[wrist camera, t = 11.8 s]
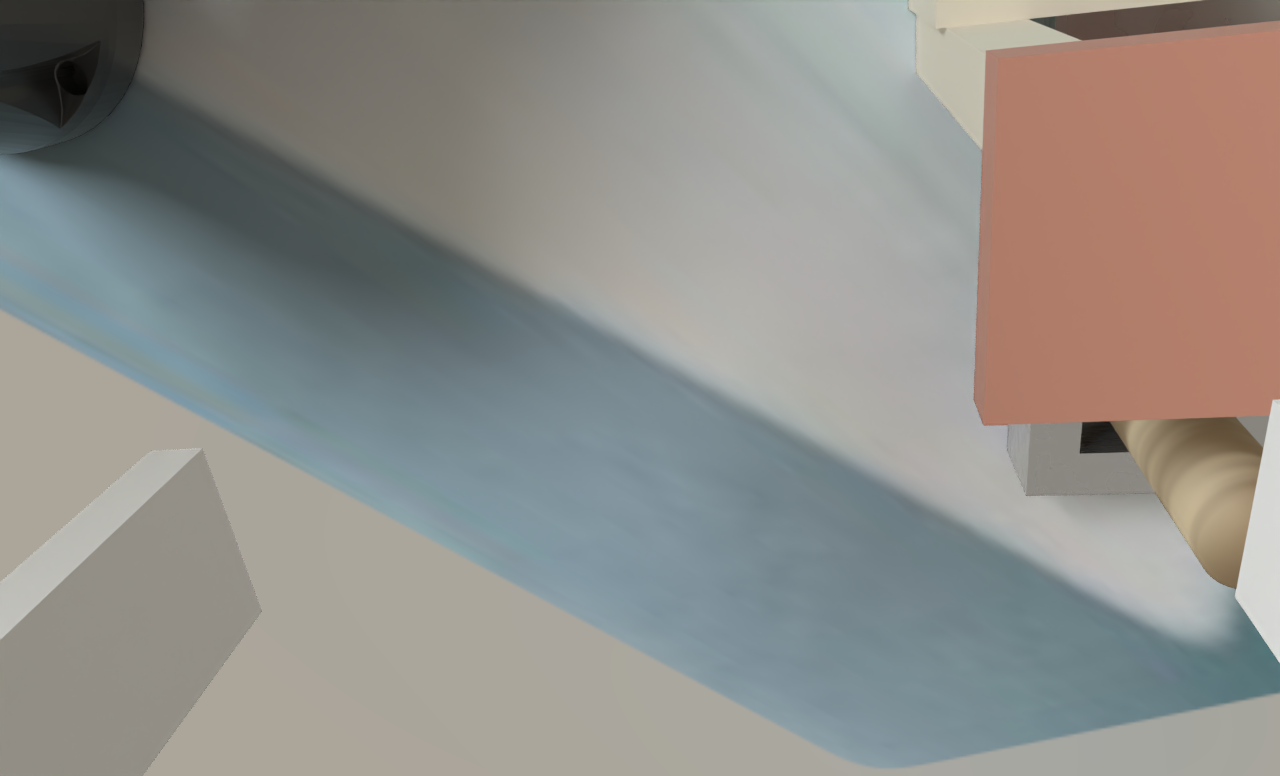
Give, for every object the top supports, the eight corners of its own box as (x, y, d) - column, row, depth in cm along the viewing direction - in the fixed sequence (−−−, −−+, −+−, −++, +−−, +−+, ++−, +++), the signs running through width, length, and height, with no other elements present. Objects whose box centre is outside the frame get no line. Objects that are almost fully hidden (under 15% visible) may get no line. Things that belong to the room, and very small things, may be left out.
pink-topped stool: (907, 227, 40) (983, 425, 24) (908, -25, 36) (999, 14, 20) (1382, 193, 37) (1830, 396, 21) (1443, -88, 33) (2057, -100, 17)
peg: (1073, 395, 43) (1190, 590, 30) (1081, 321, 41) (1207, 493, 29) (1160, 393, 42) (1315, 591, 30) (1171, 317, 40) (1340, 492, 28)
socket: (1007, 449, 44) (1025, 495, 41) (1016, 265, 40) (1038, 298, 37) (1218, 443, 43) (1257, 490, 39) (1249, 250, 39) (1295, 283, 35)
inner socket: (1019, 219, 40) (1041, 248, 36) (1031, -14, 36) (1057, -7, 32) (1256, 202, 38) (1304, 231, 34) (1295, -44, 34) (1354, -40, 31)
